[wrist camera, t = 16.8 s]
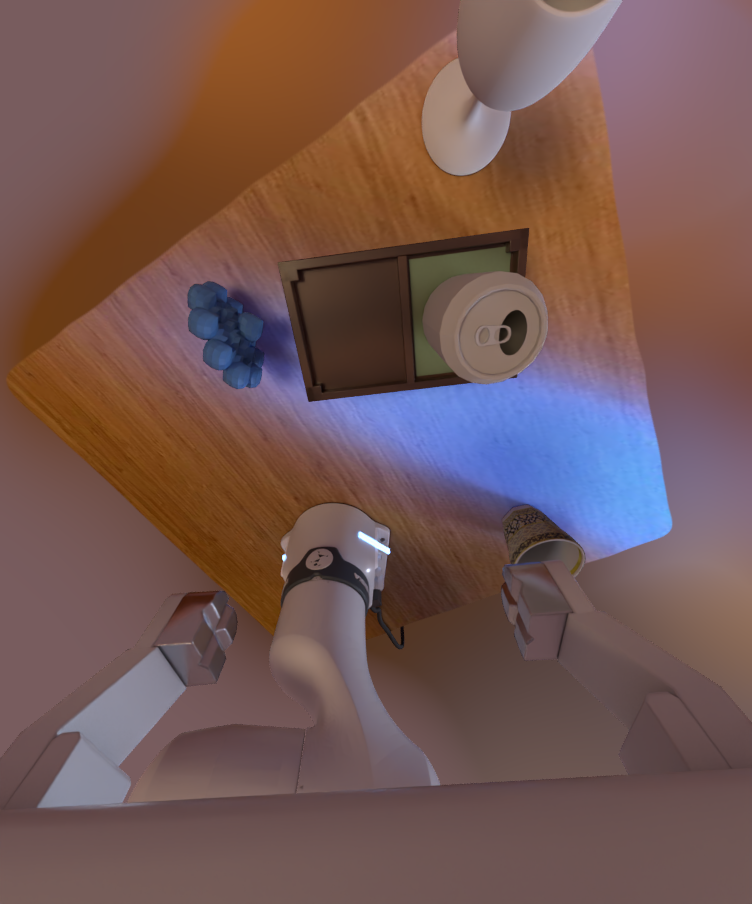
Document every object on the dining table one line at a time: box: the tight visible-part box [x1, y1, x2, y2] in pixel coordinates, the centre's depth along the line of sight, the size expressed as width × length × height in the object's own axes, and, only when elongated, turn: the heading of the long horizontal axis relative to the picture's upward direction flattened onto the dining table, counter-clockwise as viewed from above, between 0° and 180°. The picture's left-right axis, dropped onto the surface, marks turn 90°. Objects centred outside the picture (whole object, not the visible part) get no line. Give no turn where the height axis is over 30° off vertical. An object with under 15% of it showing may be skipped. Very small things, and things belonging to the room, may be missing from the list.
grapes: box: [188, 281, 264, 389], centre depth 36 cm, size 12×7×12 cm, turn 22°
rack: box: [278, 228, 529, 402], centre depth 36 cm, size 13×22×10 cm, turn 97°
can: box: [422, 271, 548, 384], centre depth 27 cm, size 8×8×12 cm
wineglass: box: [422, 0, 622, 176], centre depth 23 cm, size 9×9×21 cm
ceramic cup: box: [502, 505, 585, 578], centre depth 52 cm, size 13×10×10 cm
